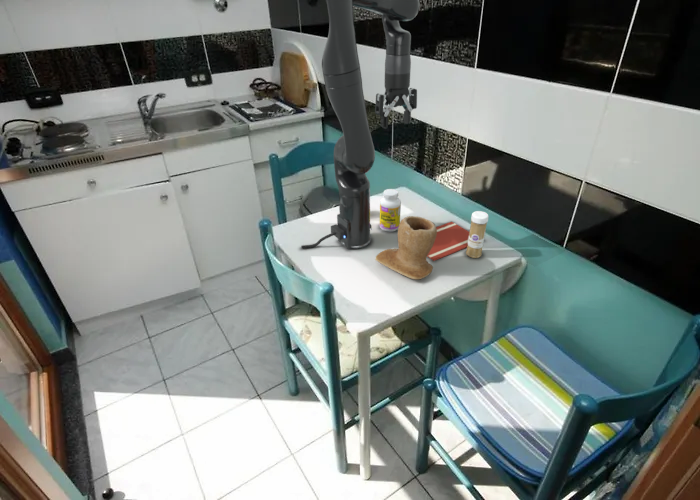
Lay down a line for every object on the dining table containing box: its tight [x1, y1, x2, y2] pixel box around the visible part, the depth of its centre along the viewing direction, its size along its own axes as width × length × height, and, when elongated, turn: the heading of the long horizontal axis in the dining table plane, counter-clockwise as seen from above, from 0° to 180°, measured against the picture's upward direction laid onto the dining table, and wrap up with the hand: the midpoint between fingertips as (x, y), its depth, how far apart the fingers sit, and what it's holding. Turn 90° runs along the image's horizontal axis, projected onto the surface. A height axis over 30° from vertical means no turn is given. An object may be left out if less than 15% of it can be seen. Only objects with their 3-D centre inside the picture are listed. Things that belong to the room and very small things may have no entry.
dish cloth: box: [427, 221, 470, 262], centre depth 130 cm, size 20×14×1 cm
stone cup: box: [374, 215, 437, 281], centre depth 115 cm, size 15×12×15 cm
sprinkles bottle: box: [465, 210, 489, 259], centre depth 120 cm, size 5×5×14 cm
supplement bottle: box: [379, 188, 402, 233], centre depth 134 cm, size 7×7×13 cm
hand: (395, 125), depth 131 cm, fingers open, 8 cm apart
